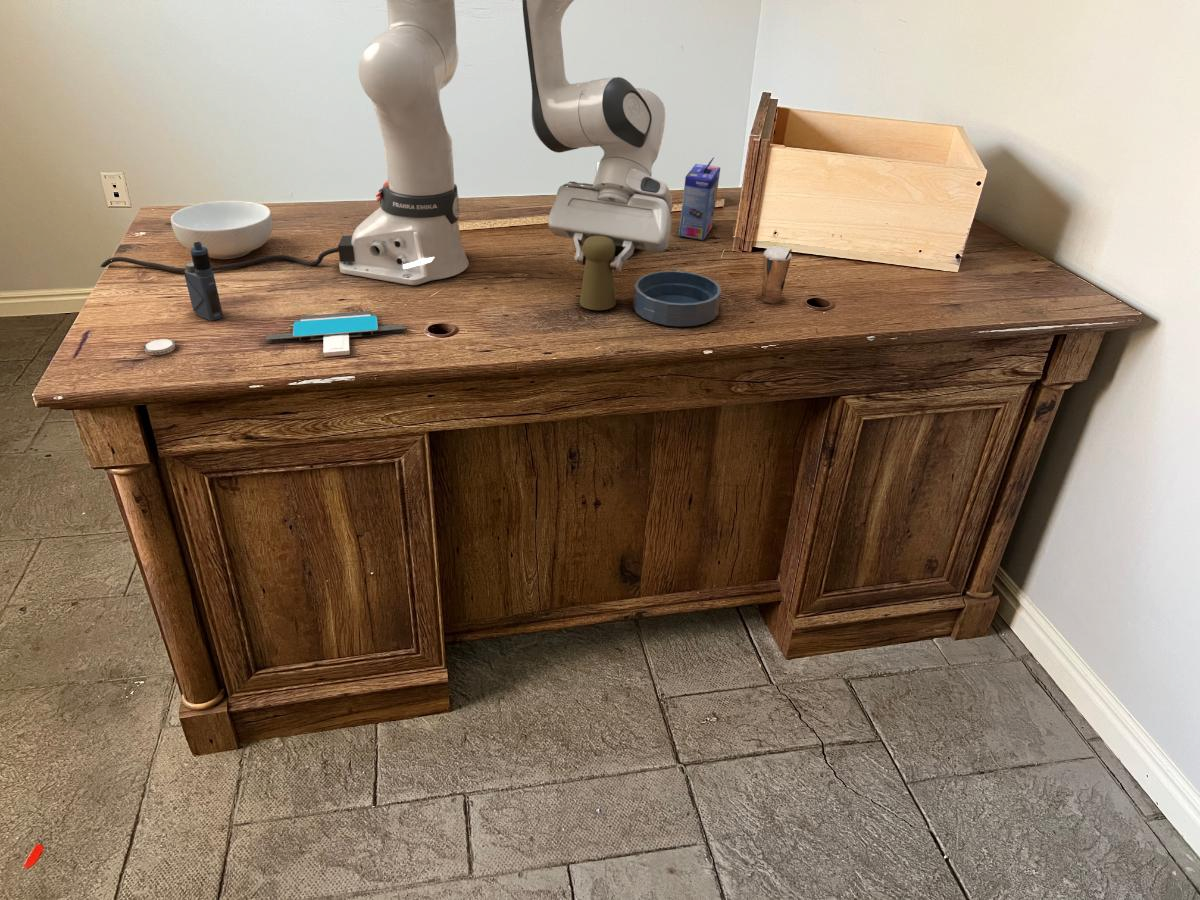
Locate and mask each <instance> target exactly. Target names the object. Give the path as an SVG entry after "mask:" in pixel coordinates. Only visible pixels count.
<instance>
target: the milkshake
mask: <svg viewBox="0 0 1200 900" xmlns="http://www.w3.org/2000/svg"><path fill="white" fill-rule="evenodd" d="M792 251H793V249H792V248H791V249H789V250H788V248H785V247H782V246H779V245H774V246H769V247H768V248H766V249H765V250H764V251H763V259H762V260H763V261H762V262H763V263H762V283H761V301H762V302H764V303H767V304H778V303H781V300H782V296H783V293H784V292H783V291H784V287H785V283H786V278H787V274H788V271H789V267H790V265H791V259H792V255H793V254H792V253H791V252H792Z"/></svg>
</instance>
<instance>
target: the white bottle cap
mask: <svg viewBox="0 0 1200 900" xmlns="http://www.w3.org/2000/svg"><path fill="white" fill-rule="evenodd" d="M143 349H144V352H145V354H146V355H151V356H161V355H165V354H168V353H171V352H173V351H174V350H175V349H176V343H175V341H174V340H173V339H171V338H169V339H168V338H159V339H154V340H151V341H148V342H147V343H145V344H144V346H143Z"/></svg>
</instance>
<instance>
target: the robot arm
mask: <svg viewBox="0 0 1200 900" xmlns="http://www.w3.org/2000/svg"><path fill="white" fill-rule="evenodd" d="M385 1H386V9H387V18H388V19H387V20H388V21H387V29H386V31H384V32H381V33H380V34H378V35H376V36H375V37H374V38H372V40H370V42H369V43H368V45H367V46H366V47H365V49H364V51H363V53H362V54H361V56H360V59H359V62H358V78H359V82H360V85H361V88H362V90H363V91H364V94H366V95H367V97H368V98H369V99H370V100H371V103H372V107H373V110H374V112H375V115H376V120H377V123H378V125H379V129H380V133H381V138H382V142H383V148H384V156H385V157H384V158H385V167H386V172H387V173H386V174H387V180H386V181H385V182H384V183H383V184H382V187H381V188H380V189H379V190H378V193H376V194H375V197H376V198H375V199H376V200H375V202H376V203H378V202H379V204H380V207H378V208H377V209H376V210H375V211H374V212H373V213H371V214H370V215H369V216H367V217H366V218H365V219H364V220H363V221H362V222H360V223H359V224H358V225H357V226H356V227H355V229H354V231H353V233H352V235H342V236H341V239H340V240H339V242H338V244H337V247H333V248H330V249H327V250H325V251H323V252H321V253H320V254H319V255H318V257H317V259H316V260H314V261H305V260H302V259H299V258H296V257H295V256H294V257H293V256H290V255H285V254H274V255H265V256H260V257H256V258H252V259H249V260H244V261H239V262H234V263H227V264H221V265H220V264H219V265H213V266H211V267H212V272H217V271H218V272H219V271H225V270H230V269H231V270H232V269H237V268H243V267H247V266H250V265H255V264H259V263H263V262H268V261H276V260H278V261H279V260H281V261H288V262H293V263H296V264H299V265H303V266H308V267H315V266H318V265H320V264H321V263H322V261H323V259H324V258H325V257H327V256H329V255H331V254H335V253H338V256H339V262H338V265H339V266H338V267H339V271H340V273H341V274H344V275H351V276H356V277H362V278H366V279H367V278H368V279H372V280H373V279H374V280H379V281H384V282H391V283H397V284H402V285H408V286H419V285H422V284H424V283H427V282H430V281H435V280H442V279H443V280H444V279H447V278H451V277H454V276H456V275H459V274H461V273H462V272H464V271H466V270H467V269H468V267H469V265H470V264H469V260H468V258H467V254H466V251H465V248H464V243H463V240H462V236H461V235H462V234H461V229H460V224H459V218H460V197H459V193H458V186H457V184H456V183H455V170H454V155H453V154H454V153H453V140H452V137H451V135H450V133H449V131H448V128H447V126H446V123H445V118H444V115H443V111H442V106H441V98H440V95H441V94H440V93H441V90H442V89H444V88H445V87H447V86H448V84H450V82H451V81H452V80H453V77H454V75H455V73H456V71H457V68H458V63H459V59H460V58H459V57H460V54H459V46H458V44H457V19H456V18H457V17H456V5H455V0H385ZM521 1H522V15H523V25H524V34H525V41H526V43H525V44H526V51H527V59H528V60H527V61H528V68H529V74H530V85H531V123H532V127H533V130H534V133H535V134H536V136H537V138H538V139H539V141H540V142H541V143H542V144H543V146H545V147H546V148H548V149H549V150H550V151H552V152H554V153H565V152H569V151H574V150H578V149H581V148H591V147H599V148H601V149H602V150H603V156H602V157H601V158H600V161H599V163H598V167H597V171H596V174H595V177H594V180H593V183H586V182H577V181H568V183H564V184H562V185H560V186H559V187H558V189H557V192H556V196H555V200H554V202H553V205H552V207H551V209H550V212H549V214H548V217H547V226H548V228H549V230H550V231H551V232H552V234H553V235H554V236H557V237H562V238H568V239H569V238H570V239H573V242H574V246H575V250H576V252H575V254H574V263H575V264H576V265H581V266H585V263H586V257H585V256H584V254H583V247H582V246H583V244H584V242H585V240H586V239H587V238H589V237H591V236H606V237H609V238H611V239H612V240H613V242H614V243H615V245H618V246H623V248H624V250H623V251H622V252H621V253H620V254H619V255H618V257H617V256H613V257H612V262H611V263H610V267H611V269H612V270H613V271H617V272H621V271H622V269H623V265H624V263H625V262H626V261H627V260H628V259H629V258H631V256H633V255H634V254H633V252H634V248H637V249H641V250H645V251H650V252H657V253H663V252H664V251H666V250H667V249H668V248H669V246H670V242H671V236H672V232H673V231H672V230H673V218H672V215H671V212H672V210H673V208H674V207H673V204H674V202H673V196H672V194H671V191H670V188H669V186H668V185H667V184H666V183H665V182H664V181H661V180H658V179H657V178H655V177H653V176H652V175H653V173H652V171H653V166H654V163H655V162H656V160H657V158H658V156H659V153H660V149H661V145H662V142H663V138H664V131H665V126H666V125H665V124H666V107H665V104H664V102H663V101H662V99H661V98H660V97H659V96H658V95H657V94H656V93H654V92H652V91H651V90H649V89H646V88H641V87H635V86H634V85H633V84H632V83H631V82H629V81H628V79H626V78H624V77H621V76H616V77H614V76H613V77H605V78H604V77H603V78H599V79H592V80H590V81H584V82H577V83H570V82H569V81H568V79H567V77H566V69H565V59H564V47H563V38H562V24H563V23H562V21H563V18H564V16H565V13H566V11H567V10H568V8H569V7H570V6H571V5H572V3H574V1H575V0H521ZM632 254H633V255H632ZM111 260H112V261H111ZM116 262H122V263H129V264H133V265H137V266H141V267H146V268H154V269H160V270H164V271H169V272H173V273H180V274H182V273H183V274H185V270H186V267H175V266H169V265H165V264H161V263H156V262H149V261H143V260H138V259H135V258H130V257H124V256H114V257H110V258H108V259H106V260H104V261H103V262H102V263H101V264H100V268H106V267H108V266H109V265H110V264H114V263H116Z"/></svg>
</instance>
